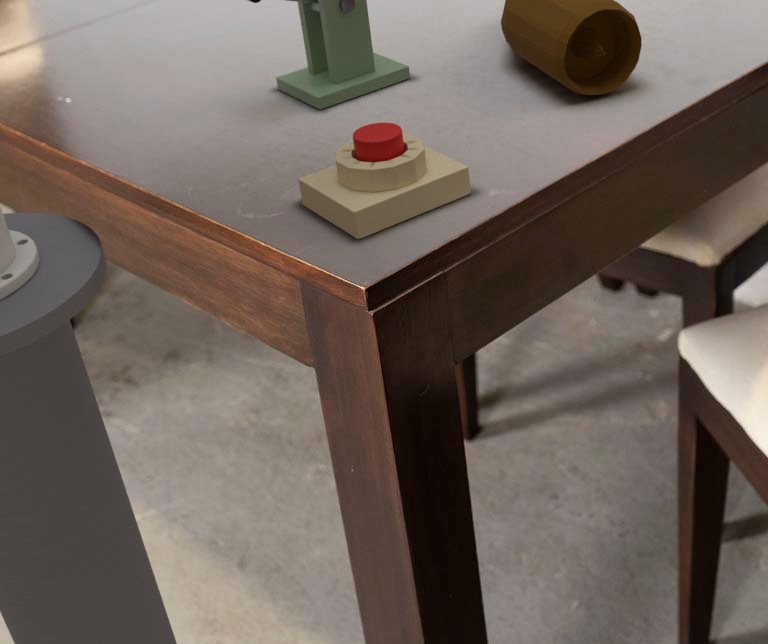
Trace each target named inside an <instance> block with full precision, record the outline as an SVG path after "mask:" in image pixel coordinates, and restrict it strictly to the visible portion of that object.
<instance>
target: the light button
mask: <svg viewBox="0 0 768 644" xmlns="http://www.w3.org/2000/svg"><path fill="white" fill-rule="evenodd" d="M402 133H403V129H402V127H401V126H400V125H399V124H397V123H393V122H374V123H369V124H366V125H363V126H360V127H358V128H357V129H356V130H354V132H353V133H352V140H353V142H354V149H355V156H356V159H357V160H358V161H362V162H373V163H374V162H382V161H388V160H391V159H394V158H396V157H399V156H402V155H403V154H404V143H403V135H402Z"/></svg>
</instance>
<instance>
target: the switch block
mask: <svg viewBox="0 0 768 644" xmlns="http://www.w3.org/2000/svg"><path fill="white" fill-rule="evenodd" d="M402 135H403V143H404V154H403V155H402V156H399V157H396V158H394V159H391V160H388V161H382V162H374V163H373V162H362V161H358V160H357V159H356V156H355V149H354V142H353V139H350V140H348V141H346V142H345V143H343V144H342V145H341V146H340V147H339V148H338V149H336V150H335V164H334V165H332V166H328V167H326V168H323V169H321V170H319V171H318V170H317V171H316V172H313V173H310V174H308V175H304V176H302V177H300V178H298V186H299V191H300V196H301V201H302V206H304V207H305V208H307V209H308V210H310V211H312V212H313V213H315V214H317V215H318V216H320V217H321V218H323V219H324V220H326V221H328V222H329V223H331V224H332V225H334V226H335V227H337V228H339V229H341V230H342V231H344V232H345V233H347V234H349V235H350V236H352V237H353V238H355V239H356V240H361V239H363V238H366V237H369V236H371V235H373V234H376V233H378V232H381V231H384V230H385V229H388V228H390V227H393V226H395V225H398V224H400V223H402V222H405V221H407V220H410V219H412V218H415V217H417V216H419V215H422V214H424V213H427V212H429V211H431V210H434V209H436V208H439V207H441V206H444V205H446V204H448V203H451V202H454V201H456V200H458V199H460V198H463V197H466V196H468V195H470V194H471V181H470V169H469V166H468V165H466V164H463V163H461V162H460V161H458V160H455V159H453V158H451V157H449V156H447V155H445V154H443V153H440V152H438V151H436V150H434V149H432V148H430V147H429V146H426V145H425V144H424V141H423V139H422V138H420V137H417V136H415V135H413V134H411V133H408V132H402Z"/></svg>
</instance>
